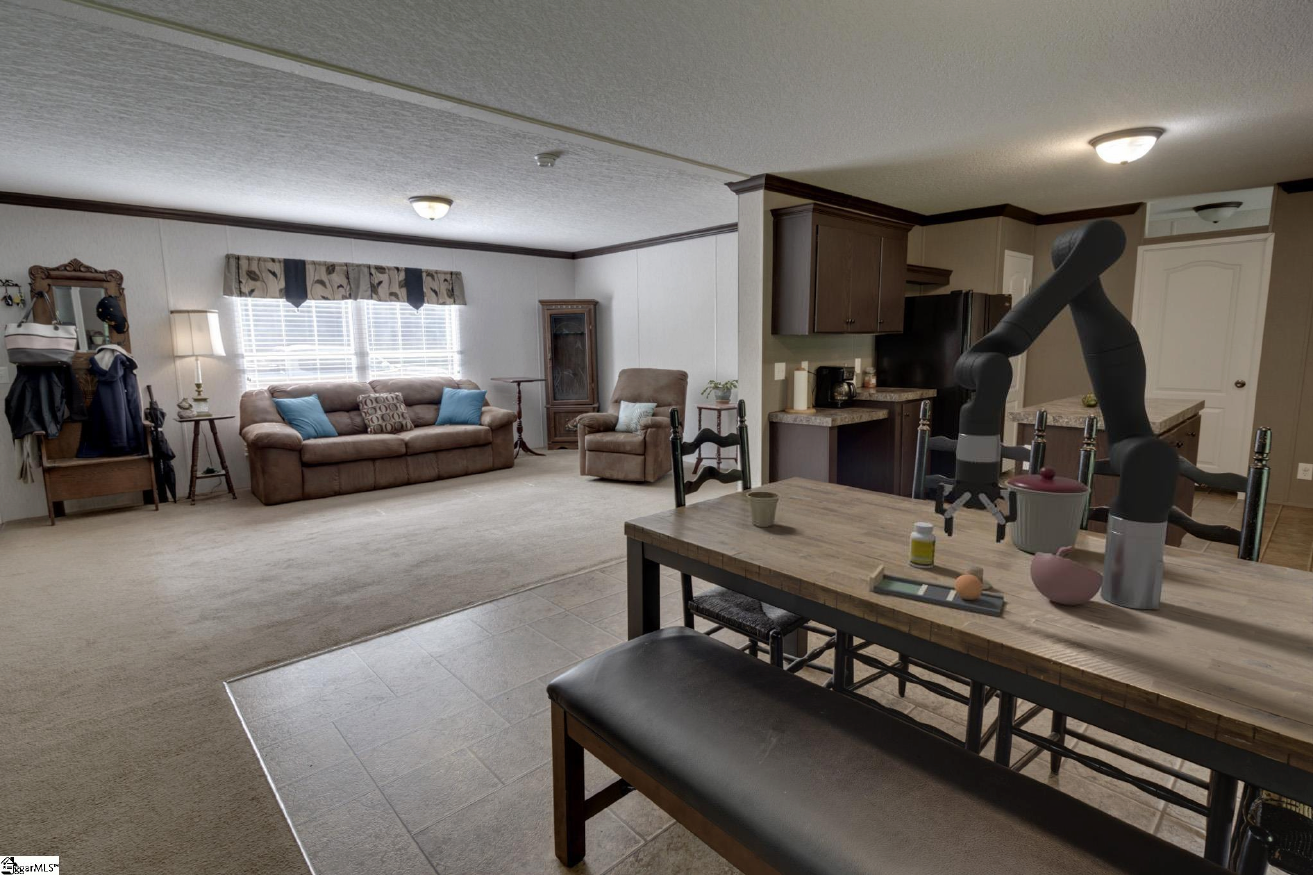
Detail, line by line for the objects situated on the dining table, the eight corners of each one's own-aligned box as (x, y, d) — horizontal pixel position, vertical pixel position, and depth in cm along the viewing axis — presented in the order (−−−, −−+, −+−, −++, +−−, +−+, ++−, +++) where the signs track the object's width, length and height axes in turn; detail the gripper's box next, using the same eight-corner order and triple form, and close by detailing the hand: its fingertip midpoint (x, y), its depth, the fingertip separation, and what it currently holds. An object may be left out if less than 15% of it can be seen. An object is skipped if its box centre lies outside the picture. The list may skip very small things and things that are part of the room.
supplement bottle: (936, 569, 145) (938, 528, 144) (911, 568, 147) (913, 526, 145) (931, 562, 151) (933, 521, 149) (906, 560, 152) (909, 520, 150)
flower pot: (740, 521, 186) (741, 492, 185) (769, 518, 189) (770, 490, 187) (754, 530, 177) (755, 499, 176) (785, 527, 180) (786, 497, 179)
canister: (1065, 567, 147) (1073, 477, 144) (986, 547, 162) (992, 465, 158) (1097, 552, 158) (1105, 468, 155) (1020, 534, 172) (1026, 457, 169)
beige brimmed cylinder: (991, 583, 137) (992, 567, 137) (988, 592, 132) (989, 575, 132) (961, 577, 140) (962, 561, 140) (956, 586, 136) (958, 569, 135)
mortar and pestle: (1111, 606, 125) (1117, 550, 123) (1078, 619, 119) (1084, 560, 117) (1049, 587, 135) (1053, 534, 133) (1015, 598, 129) (1019, 543, 128)
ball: (983, 597, 128) (984, 573, 127) (980, 606, 124) (981, 581, 123) (956, 592, 131) (957, 568, 130) (952, 600, 126) (953, 576, 126)
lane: (1003, 600, 128) (1004, 586, 127) (999, 616, 120) (1000, 601, 120) (880, 577, 141) (880, 564, 140) (869, 590, 133) (869, 576, 133)
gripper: (1021, 456, 122) (1016, 538, 124) (941, 451, 130) (937, 529, 132) (1019, 463, 116) (1013, 549, 118) (934, 457, 123) (931, 538, 126)
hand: (973, 538), depth 125 cm, fingers open, 8 cm apart
